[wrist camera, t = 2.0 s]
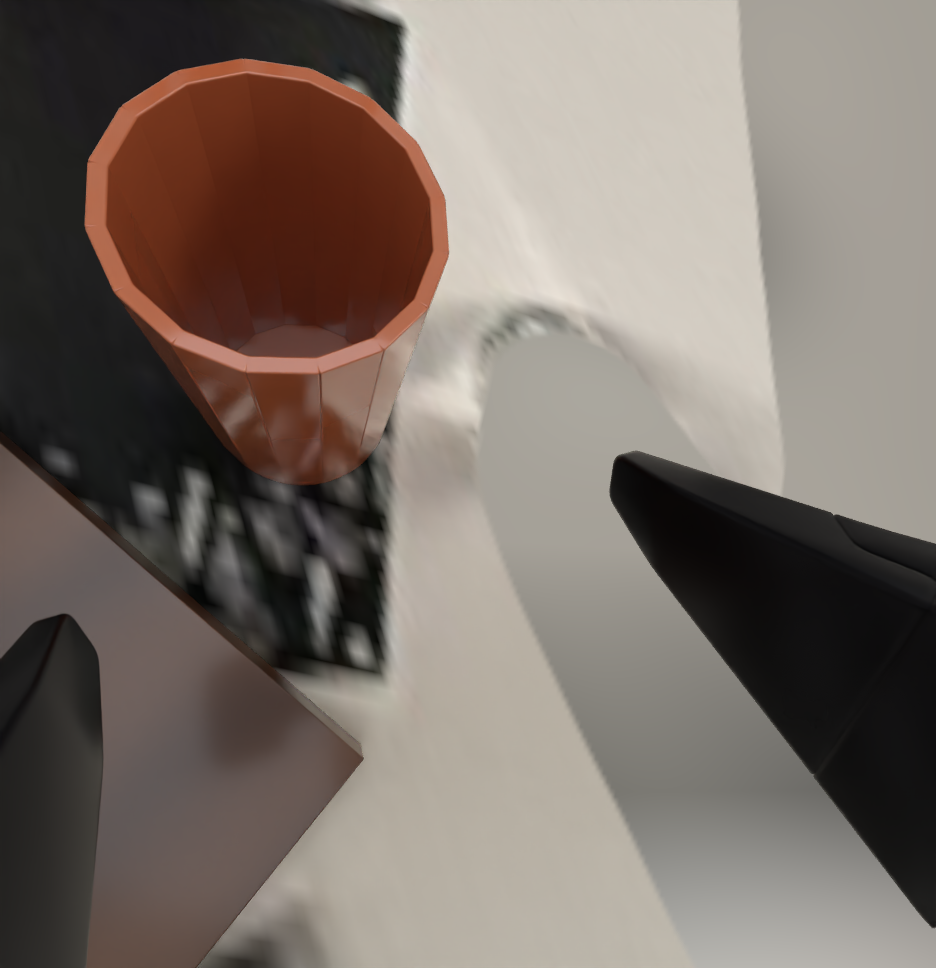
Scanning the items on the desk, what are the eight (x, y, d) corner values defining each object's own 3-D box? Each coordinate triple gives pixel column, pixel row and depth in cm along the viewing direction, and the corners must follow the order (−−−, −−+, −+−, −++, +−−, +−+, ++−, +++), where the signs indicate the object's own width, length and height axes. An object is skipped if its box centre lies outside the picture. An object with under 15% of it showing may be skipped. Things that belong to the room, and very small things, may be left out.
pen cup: (420, 403, 24) (510, 231, 12) (305, 521, 22) (284, 446, 10) (300, 292, 23) (276, 5, 12) (172, 401, 21) (-6, 185, 10)
